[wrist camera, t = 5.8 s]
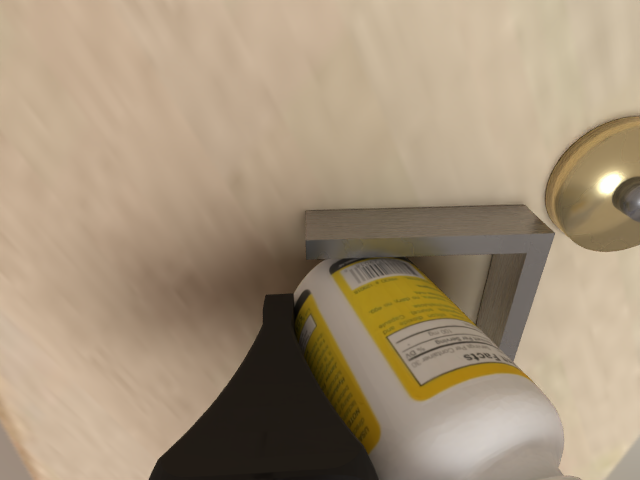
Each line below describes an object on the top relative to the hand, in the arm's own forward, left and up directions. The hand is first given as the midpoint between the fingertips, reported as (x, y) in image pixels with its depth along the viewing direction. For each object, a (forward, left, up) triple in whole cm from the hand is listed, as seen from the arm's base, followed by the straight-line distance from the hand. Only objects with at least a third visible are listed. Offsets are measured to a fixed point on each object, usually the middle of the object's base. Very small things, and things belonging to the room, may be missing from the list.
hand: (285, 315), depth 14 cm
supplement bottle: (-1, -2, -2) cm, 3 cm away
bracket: (-1, -4, -2) cm, 5 cm away
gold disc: (+4, -11, -2) cm, 12 cm away
